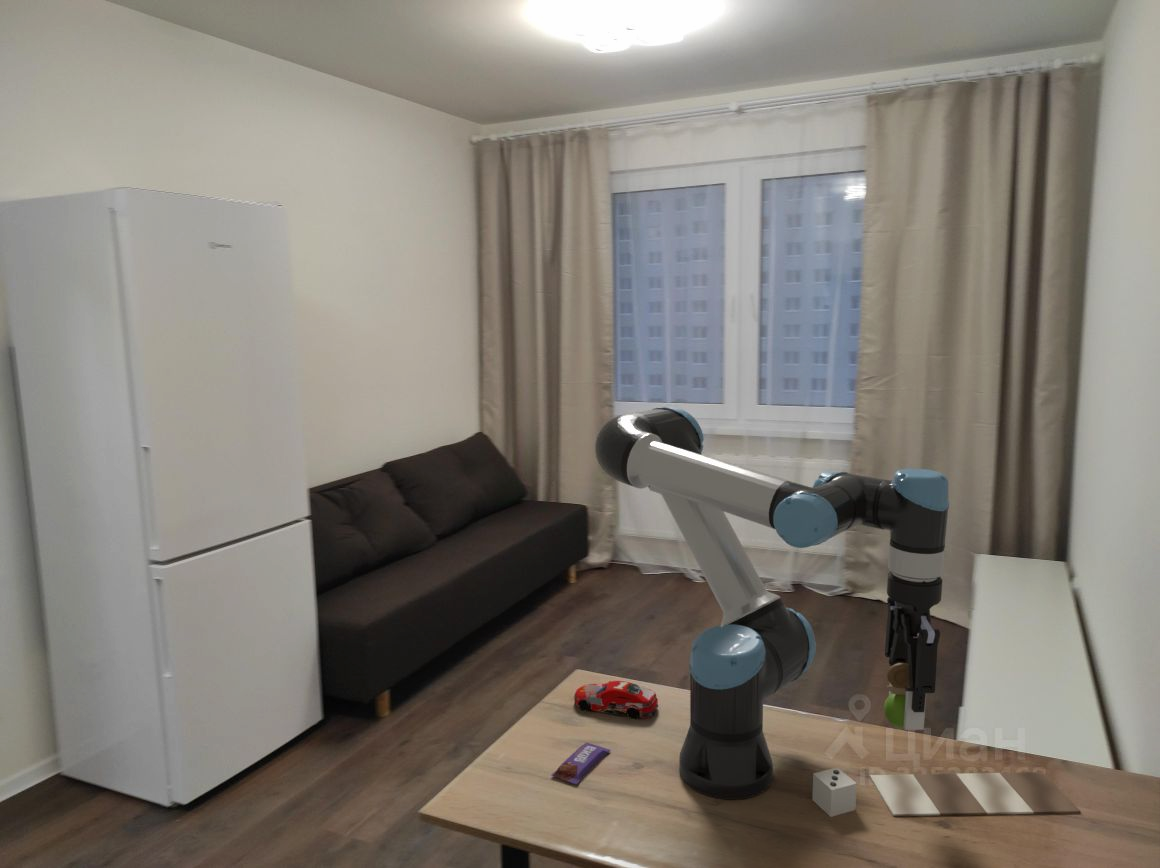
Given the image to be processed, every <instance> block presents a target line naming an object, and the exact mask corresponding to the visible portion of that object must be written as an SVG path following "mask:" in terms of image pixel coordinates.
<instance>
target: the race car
mask: <svg viewBox="0 0 1160 868" xmlns="http://www.w3.org/2000/svg"><path fill="white" fill-rule="evenodd" d="M573 699H574V704H575V706H576V707H577V708H579V709H580V711H583V712H589V711H590V710H591V711H594V712H599V713H604V714H612V715H618V716H622V717H623V716H624V717H627V716H628V718H629V719H634V720H637V719H639V718H640V719H642V718H644V719H645V718H649V717H651V716H653V715H655V713H656V711H657V709H658V707H659V704H658V703H659V702H658V701H659V700H658V698H657V694H656V692H655V691H653V690H652V689H650V688H647V687H645V686H643V685H640V684H637V683H632V682H629V681H623V680H609V681H608V682H606V683H589V684H588V683H587V684H584V685H583V686H580V687H578V688H577V689H576V691H575V692H574V696H573Z"/></svg>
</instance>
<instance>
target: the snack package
mask: <svg viewBox="0 0 1160 868" xmlns="http://www.w3.org/2000/svg"><path fill="white" fill-rule="evenodd" d="M611 750H612V749H609V748H605V747H603V746H600V745H598V744H597V745H596V744H594V743H589V742H585V743H584V744H581V746H580V747H579V748H577V749H576V750H575V751H574V752H573V753H572V754H570V756H569V757H567V759H566V760H564V761H563V762H562V763H561V764H560V765H559V766H558V768H557V769H556V770H555V771H554V772H553V773H551V775H550V776H552V777H554V778H556V779H559V780H563V781H566V782H569V783H570V784H573V785H578V784H579V783H580V782H581V781H582V779H584V777H586V775H587V774H589V773H590V771H592V770H593V768H594V767H595V766H596V765H597V764H598V763H600V761H601V760H602V759H603V758H604V757H606V755H607V754H608V753H610V752H611Z"/></svg>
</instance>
